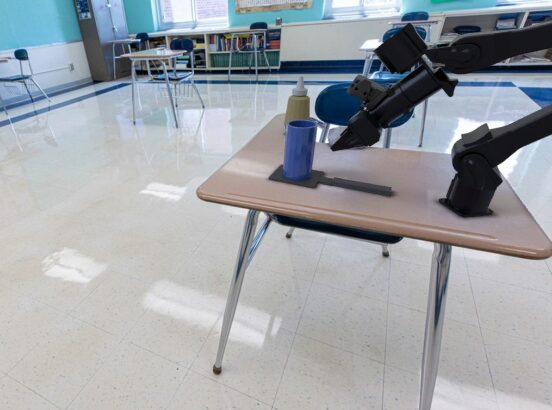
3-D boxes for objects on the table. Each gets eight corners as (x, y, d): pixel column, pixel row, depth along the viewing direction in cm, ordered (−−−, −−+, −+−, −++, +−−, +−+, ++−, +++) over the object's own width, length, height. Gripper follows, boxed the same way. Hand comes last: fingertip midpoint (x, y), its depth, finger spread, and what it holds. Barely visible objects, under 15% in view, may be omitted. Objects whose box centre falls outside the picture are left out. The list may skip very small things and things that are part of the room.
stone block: (330, 154, 96) (367, 148, 93) (328, 138, 94) (366, 132, 91) (325, 142, 107) (359, 137, 104) (324, 127, 105) (358, 122, 102)
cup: (317, 176, 78) (324, 125, 72) (294, 182, 76) (299, 129, 70) (299, 167, 84) (304, 118, 78) (277, 172, 82) (280, 122, 75)
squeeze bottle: (311, 132, 109) (318, 75, 101) (303, 139, 104) (310, 79, 95) (288, 129, 113) (292, 74, 104) (279, 136, 108) (283, 78, 99)
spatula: (392, 185, 74) (393, 181, 73) (387, 203, 67) (388, 198, 67) (281, 166, 86) (281, 162, 86) (268, 179, 80) (268, 175, 79)
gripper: (385, 54, 68) (324, 105, 78) (372, 67, 54) (300, 125, 65) (419, 96, 68) (353, 141, 79) (414, 119, 54) (335, 169, 65)
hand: (336, 142), depth 72 cm, fingers open, 9 cm apart
